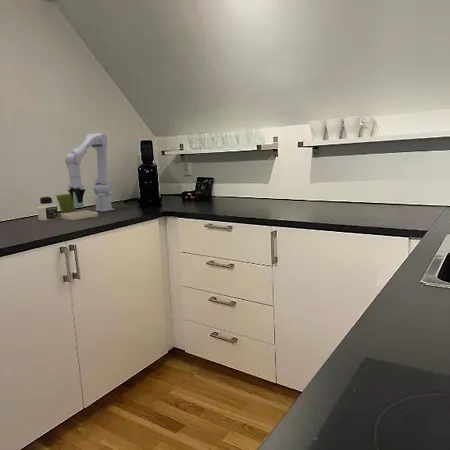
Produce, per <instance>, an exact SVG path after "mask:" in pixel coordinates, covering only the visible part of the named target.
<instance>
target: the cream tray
mask: <svg viewBox="0 0 450 450" xmlns="http://www.w3.org/2000/svg"><path fill="white" fill-rule="evenodd" d="M98 212H99V211H92V210H79V211H77V210H76V212H70V213H64V214H62V213H60V219H61V220H66V221H72V222H73V221H80V220H86V219H93V218H98V217H99V213H98Z"/></svg>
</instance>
